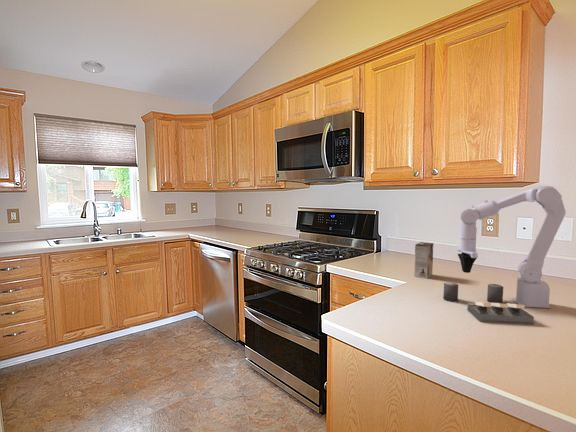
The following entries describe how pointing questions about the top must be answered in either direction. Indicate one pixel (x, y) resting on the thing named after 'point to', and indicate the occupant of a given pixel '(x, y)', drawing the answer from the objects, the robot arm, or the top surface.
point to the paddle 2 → (516, 305)
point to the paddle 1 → (483, 304)
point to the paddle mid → (499, 305)
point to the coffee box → (423, 260)
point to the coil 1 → (450, 292)
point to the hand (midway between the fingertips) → (466, 272)
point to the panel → (500, 314)
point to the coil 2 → (495, 293)
